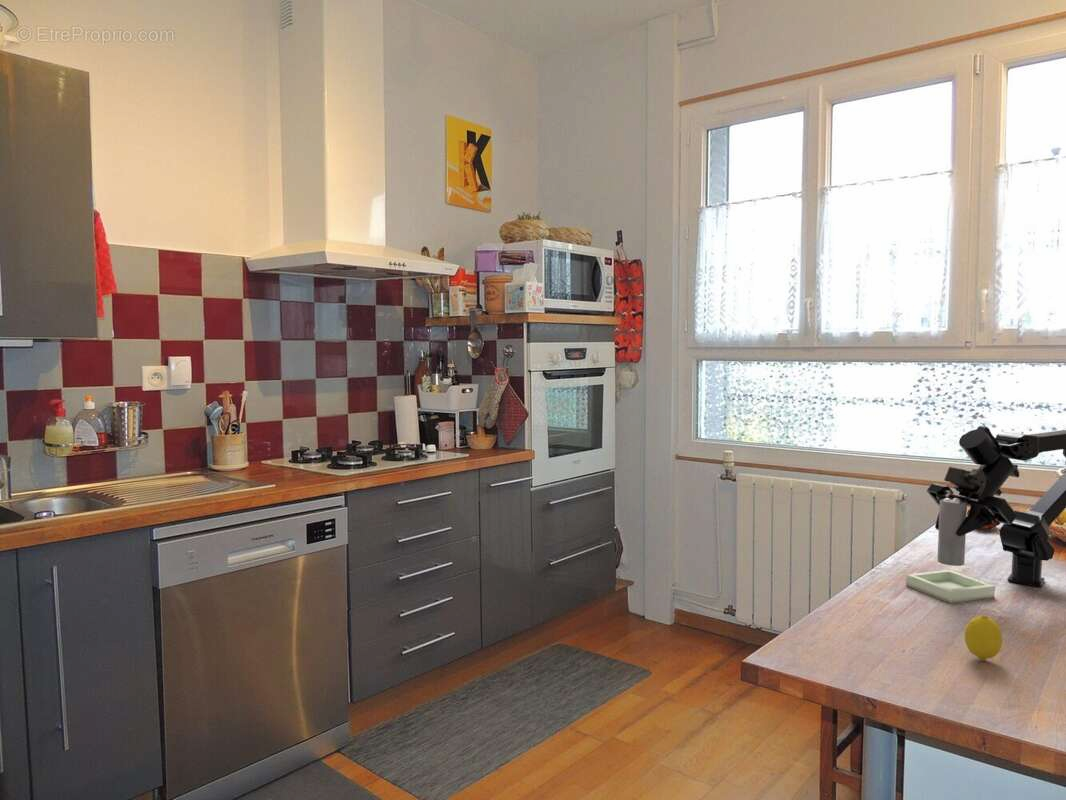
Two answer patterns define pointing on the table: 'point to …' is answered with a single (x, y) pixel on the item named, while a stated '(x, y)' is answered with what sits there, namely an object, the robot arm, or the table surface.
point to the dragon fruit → (988, 525)
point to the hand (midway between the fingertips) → (947, 531)
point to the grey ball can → (951, 532)
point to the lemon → (983, 637)
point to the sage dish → (950, 586)
